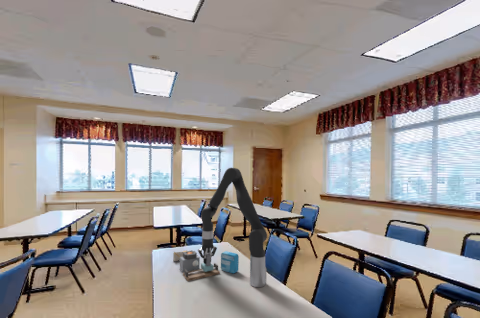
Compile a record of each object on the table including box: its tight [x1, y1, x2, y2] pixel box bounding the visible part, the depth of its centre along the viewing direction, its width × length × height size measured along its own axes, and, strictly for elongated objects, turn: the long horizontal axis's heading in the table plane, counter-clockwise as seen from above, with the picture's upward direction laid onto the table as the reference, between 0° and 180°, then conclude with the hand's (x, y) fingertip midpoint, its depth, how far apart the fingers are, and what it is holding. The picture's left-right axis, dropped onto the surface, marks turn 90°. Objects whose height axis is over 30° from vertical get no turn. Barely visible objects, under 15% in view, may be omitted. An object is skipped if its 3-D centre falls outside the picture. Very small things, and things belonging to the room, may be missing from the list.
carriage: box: [200, 253, 214, 272], centre depth 157 cm, size 6×7×10 cm
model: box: [172, 250, 188, 262], centre depth 178 cm, size 3×11×8 cm, turn 113°
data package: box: [220, 250, 240, 274], centre depth 161 cm, size 12×4×12 cm, turn 57°
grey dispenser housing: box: [179, 250, 201, 273], centre depth 164 cm, size 12×8×11 cm
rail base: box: [182, 262, 221, 282], centre depth 155 cm, size 22×10×4 cm, turn 121°
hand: (207, 263), depth 157 cm, fingers closed on carriage, 2 cm apart
